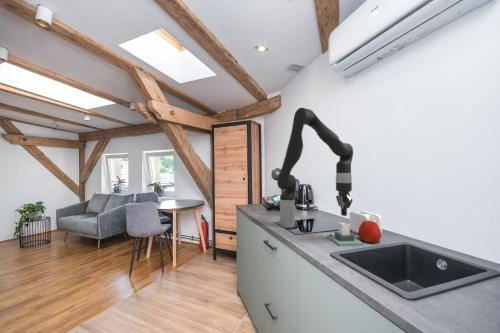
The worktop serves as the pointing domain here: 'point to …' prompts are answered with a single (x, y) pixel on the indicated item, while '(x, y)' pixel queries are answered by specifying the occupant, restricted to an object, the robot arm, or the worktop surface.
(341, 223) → the plug
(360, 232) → the apple
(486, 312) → the worktop surface
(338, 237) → the board
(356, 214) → the cable organizer
